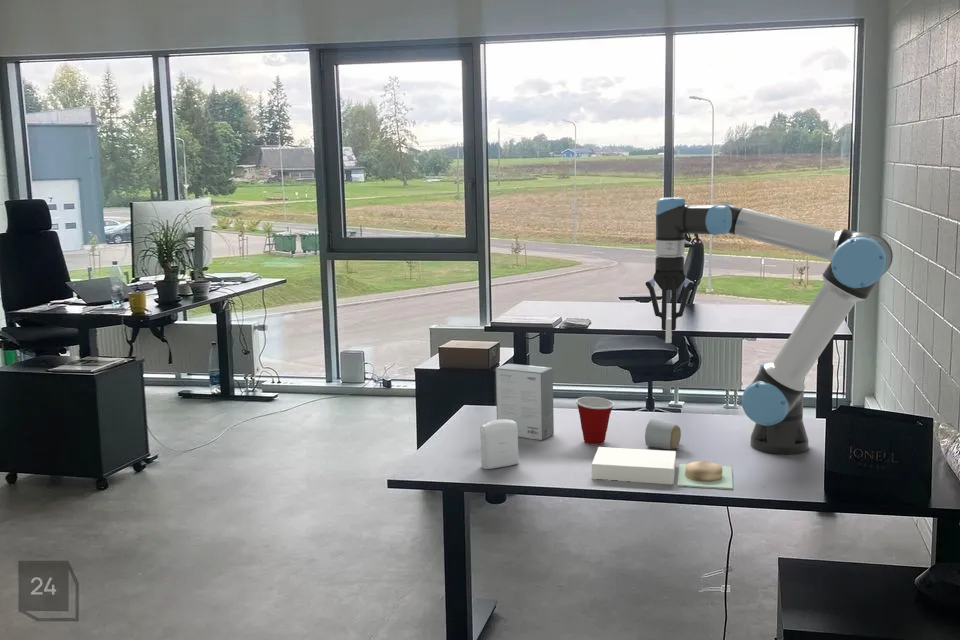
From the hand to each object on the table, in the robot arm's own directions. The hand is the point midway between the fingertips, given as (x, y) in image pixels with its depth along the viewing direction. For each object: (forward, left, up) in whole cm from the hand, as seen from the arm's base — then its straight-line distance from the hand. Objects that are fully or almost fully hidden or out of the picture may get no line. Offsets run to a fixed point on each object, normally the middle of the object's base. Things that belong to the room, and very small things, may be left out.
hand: (668, 341), depth 249 cm
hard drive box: (+41, -4, -30) cm, 51 cm away
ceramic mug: (+1, +1, -30) cm, 30 cm away
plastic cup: (+20, 0, -30) cm, 36 cm away
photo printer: (+42, +25, -30) cm, 57 cm away
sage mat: (-10, +24, -29) cm, 39 cm away
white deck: (+7, +24, -29) cm, 39 cm away
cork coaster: (-10, +24, -29) cm, 39 cm away
